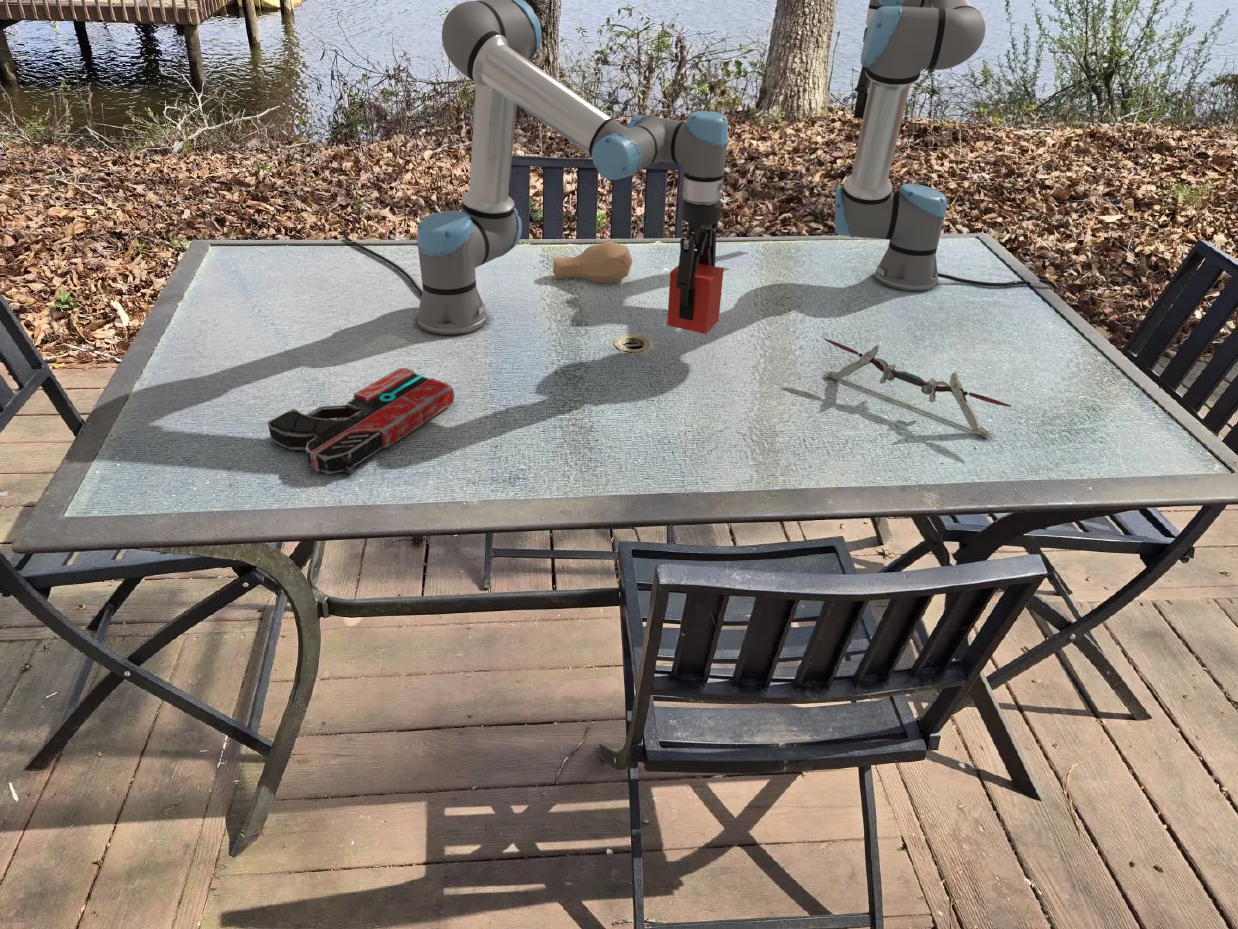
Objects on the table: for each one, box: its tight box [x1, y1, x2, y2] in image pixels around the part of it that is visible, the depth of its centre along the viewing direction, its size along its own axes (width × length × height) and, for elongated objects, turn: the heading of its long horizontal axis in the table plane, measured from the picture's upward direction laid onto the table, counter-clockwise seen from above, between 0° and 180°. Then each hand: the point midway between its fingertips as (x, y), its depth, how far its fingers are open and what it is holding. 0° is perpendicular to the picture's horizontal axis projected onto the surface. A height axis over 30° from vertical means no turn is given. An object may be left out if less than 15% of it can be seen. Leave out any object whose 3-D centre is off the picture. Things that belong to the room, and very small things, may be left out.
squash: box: [552, 240, 633, 284], centre depth 218 cm, size 11×20×9 cm, turn 90°
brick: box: [666, 263, 724, 335], centre depth 178 cm, size 7×8×12 cm
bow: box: [822, 337, 1012, 438], centre depth 167 cm, size 39×2×10 cm, turn 47°
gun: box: [266, 367, 456, 475], centre depth 158 cm, size 4×31×19 cm
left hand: (693, 311), depth 179 cm, fingers closed on brick, 7 cm apart
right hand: (865, 113), depth 239 cm, fingers open, 13 cm apart
